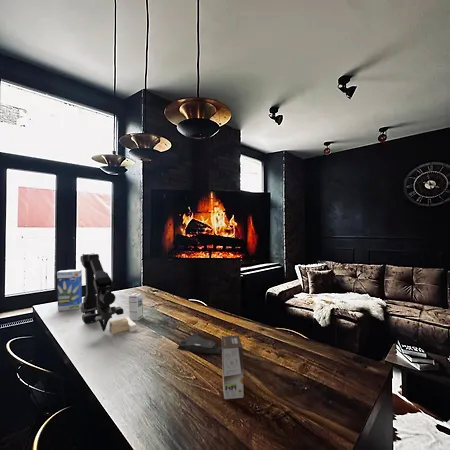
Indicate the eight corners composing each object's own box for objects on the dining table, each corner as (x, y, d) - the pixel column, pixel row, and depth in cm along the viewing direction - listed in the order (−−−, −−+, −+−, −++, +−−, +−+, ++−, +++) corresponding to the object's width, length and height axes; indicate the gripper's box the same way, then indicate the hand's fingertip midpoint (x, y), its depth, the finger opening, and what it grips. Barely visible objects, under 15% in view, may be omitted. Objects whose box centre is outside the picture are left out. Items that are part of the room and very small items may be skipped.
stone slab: (232, 352, 115) (232, 342, 114) (205, 370, 102) (206, 358, 102) (198, 334, 130) (198, 325, 129) (171, 348, 117) (171, 337, 117)
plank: (122, 323, 145) (122, 318, 145) (128, 322, 147) (128, 317, 147) (130, 331, 134) (130, 326, 134) (136, 330, 136) (136, 324, 136)
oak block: (109, 330, 137) (109, 321, 137) (125, 326, 142) (124, 317, 142) (112, 334, 132) (112, 324, 132) (128, 329, 137) (128, 320, 137)
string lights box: (57, 311, 170) (56, 272, 170) (61, 307, 178) (60, 270, 178) (79, 309, 174) (78, 270, 173) (82, 305, 181) (81, 268, 181)
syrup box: (138, 320, 149) (137, 295, 149) (129, 320, 151) (128, 295, 151) (143, 317, 155) (142, 293, 155) (134, 316, 156) (133, 292, 156)
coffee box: (244, 398, 81) (243, 347, 81) (224, 399, 81) (222, 348, 81) (240, 380, 90) (239, 334, 90) (222, 381, 90) (220, 335, 90)
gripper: (85, 308, 121) (86, 341, 121) (126, 300, 132) (127, 330, 132) (81, 302, 129) (82, 333, 129) (120, 295, 141) (120, 324, 141)
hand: (103, 330), depth 133 cm, fingers closed
